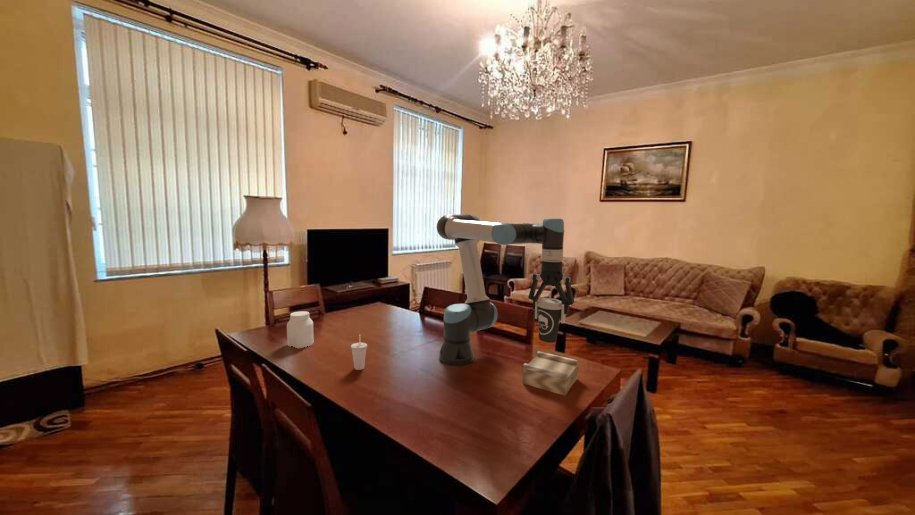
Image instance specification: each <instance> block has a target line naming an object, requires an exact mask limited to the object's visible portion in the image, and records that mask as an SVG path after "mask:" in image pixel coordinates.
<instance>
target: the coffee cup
mask: <svg viewBox="0 0 915 515" xmlns="http://www.w3.org/2000/svg"><path fill="white" fill-rule="evenodd" d="M538 301H539V302H538V304H537V306H538V316H539V318H538V340H539V341H541V342H544V343H550V344H551V343H556V342H557V341H558V340H557V339H558V334H559V327H560V324H561V312H562V305H564V304H563V301H562V300H559V299H557V298H549V297H548V298H547V297H545V298H544V297H543V298H540V299H538Z"/></svg>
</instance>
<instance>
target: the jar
mask: <svg viewBox="0 0 915 515" xmlns="http://www.w3.org/2000/svg"><path fill="white" fill-rule="evenodd" d="M310 317H311V316H310V312H309V311H306V310H304V311H302V310H301V311H294V312H291V313H290V314H289V318H290V319H289V320H288V322H287V324H286V336H287V337H286V338H287V339H286V340H287V343H286V344H287V345H288V347H291V346H293V347H292V348H294V347H295V349H296V348H297V349H303V348H302V347H305V348H308V347H311V346H312V345H314V342H315V340H314V321H313V320H312V318H310ZM310 345H311V346H310ZM307 346H308V347H307Z"/></svg>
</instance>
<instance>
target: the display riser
mask: <svg viewBox="0 0 915 515" xmlns="http://www.w3.org/2000/svg"><path fill="white" fill-rule="evenodd" d="M522 366H523V369H522V370H523V371H522V384H523V385H527V386H529V387H530V386H531V387H533V388H536V389H540V390H544V391H548V392H551V393H554V394H558V395H561V396H564V397H566V395H567V394H568V393H569V392H570V390H571V388H572V387H573V385H574V384H575V383H576V381H577V380H578V368H579V367H578V366H579V360H578V359H575V358H570V357H565V356H562V355H561V356H560V355H557V354H552V353H548V352H544V351H537V352H536V356H535V357H534V358H533V359H531V361H530V362H528V363H526V362H524V363H523V365H522Z"/></svg>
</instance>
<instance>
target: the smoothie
mask: <svg viewBox="0 0 915 515" xmlns="http://www.w3.org/2000/svg"><path fill="white" fill-rule="evenodd" d="M358 336H359V337H358V339H359V342H354V343H352V344H351V345H350V349H351V353H352V359H353V366H354V370H356V371H361V370H364V369H365V363H366V354H367V348H368V344H367V343H366V342H362V341H361V339H362V338H361V337H362V336H361V333H360V334H359V335H358Z"/></svg>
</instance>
